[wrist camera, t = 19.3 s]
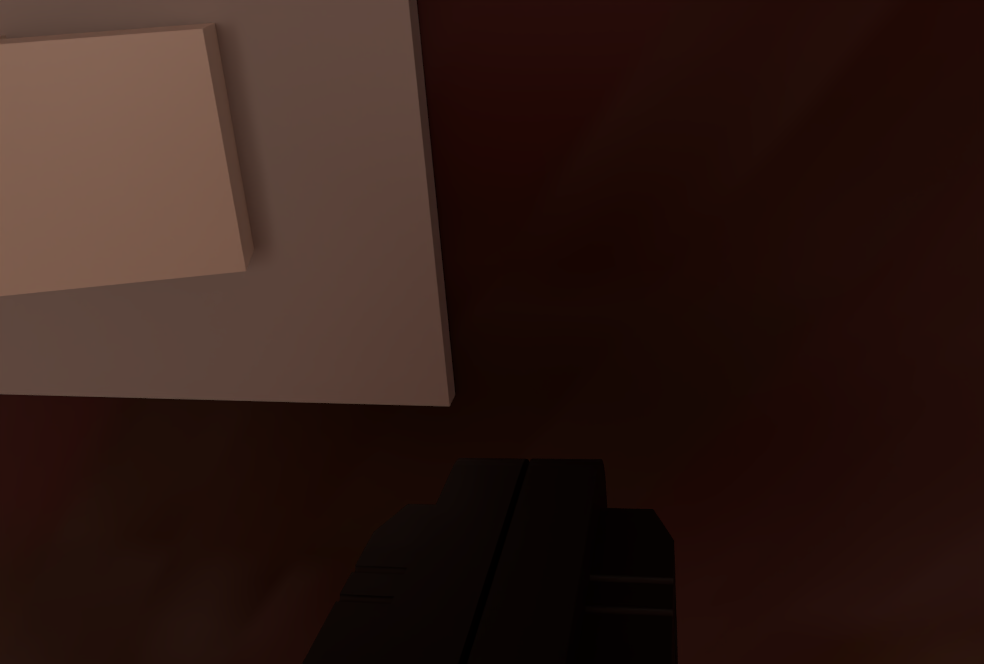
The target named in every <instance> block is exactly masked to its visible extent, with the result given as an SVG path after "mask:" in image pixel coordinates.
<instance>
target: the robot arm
mask: <svg viewBox="0 0 984 664" xmlns="http://www.w3.org/2000/svg"><path fill="white" fill-rule="evenodd" d="M302 664H678V652H677V620H676V588H675V555H674V540H673V538H672V537H671V535H670V534H669V532H668V531H667V529H666V528H665V526H664V525H663V523H662V522H661V520H660V519H659V517H658V516H657V514H656V513H655V511H654V510H653V509H619V508H607V497H606V481H605V470H604V464H603V461H602V459H531V461H530V462H529V460H528V459H497V458H459V459H458V460H457V461H456V462H455V464H454V466H453V468H452V470H451V473H450V475H449V477H448V479H447V481H446V484H445V486H444V488H443V490H442V492H441V494H440V497H439V499H438V501H437V503H436V505H424V504H408V505H406V506H405V507H404V508H403V509H401V510H400V511H399V512H398V513H397V514H395V515H394V516H393V517H392V518H390V519H389V520H388V521H387V522H385V523H384V524H383V525H382V526H381V527H379V528H378V529H377V530H376V531H374V532H373V534H372V536H371V538H370V540H369V542H368V543H367V545H366V547H365V549H364V551H363V553H362V554H361V556H360V558H359V560H358V562H357V564H356V570H355V573H354V572H352V573H351V575H350V577H349V578H348V580H347V582H346V584H345V586H344V588H343V589H342V591H341V593H340V601H339V602H337V601H336V602H335V604H334V606H333V608H332V610H331V612H330V613H329V615H328V617H327V619H326V621H325V623H324V625H323V626H322V628H321V630H320V632H319V634H318V636H317V637H316V639H315V641H314V643H313V645H312V647H311V648H310V650H309V652H308V654H307V656H306V658H305V660H304V661H303V663H302Z"/></svg>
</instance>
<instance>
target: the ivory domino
mask: <svg viewBox="0 0 984 664" xmlns="http://www.w3.org/2000/svg"><path fill="white" fill-rule="evenodd" d="M253 251H254V245H253V240H252V234H251V228H250V222H249V217H248V211H247V205H246V199H245V194H244V188H243V182H242V176H241V171H240V165H239V159H238V153H237V148H236V142H235V136H234V130H233V125H232V119H231V113H230V108H229V102H228V96H227V90H226V85H225V79H224V73H223V67H222V62H221V56H220V50H219V44H218V39H217V33H216V27H215V23H204V24H191V25H178V26H165V27H152V28H139V29H126V30H113V31H100V32H87V33H74V34H61V35H47V36H34V37H21V38H8V39H0V296H8V295H18V294H27V293H37V292H47V291H57V290H67V289H76V288H86V287H96V286H106V285H116V284H125V283H135V282H145V281H155V280H165V279H175V278H184V277H194V276H204V275H214V274H224V273H233V272H243V271H246V270H247V267H248V265H249V262H250V259H251V256H252V254H253Z"/></svg>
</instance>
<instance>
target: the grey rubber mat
mask: <svg viewBox="0 0 984 664" xmlns="http://www.w3.org/2000/svg"><path fill="white" fill-rule="evenodd" d="M204 23H215V27H216V33H217V39H218V44H219V50H220V56H221V62H222V67H223V73H224V79H225V85H226V90H227V96H228V102H229V108H230V113H231V119H232V125H233V130H234V136H235V142H236V148H237V153H238V159H239V165H240V171H241V176H242V182H243V188H244V194H245V199H246V205H247V211H248V217H249V222H250V228H251V234H252V240H253V245H254V251H253V254H252V256H251V259H250V262H249V265H248V267H247V270H246V271H243V272H233V273H224V274H214V275H204V276H194V277H184V278H175V279H165V280H155V281H145V282H135V283H125V284H116V285H106V286H96V287H86V288H76V289H67V290H57V291H47V292H37V293H27V294H18V295H8V296H0V394H17V395H54V396H90V397H127V398H163V399H200V400H236V401H273V402H309V403H346V404H382V405H419V406H450V405H451V403H452V400H453V398H454V396H455V387H454V377H453V366H452V356H451V346H450V336H449V326H448V315H447V305H446V295H445V285H444V275H443V265H442V254H441V244H440V234H439V224H438V214H437V203H436V193H435V183H434V173H433V163H432V152H431V142H430V132H429V122H428V112H427V101H426V91H425V81H424V71H423V61H422V51H421V40H420V30H419V20H418V10H417V0H0V35H5V36H6V39H8V38H21V37H34V36H47V35H61V34H74V33H87V32H100V31H113V30H126V29H139V28H152V27H165V26H178V25H191V24H204Z"/></svg>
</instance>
